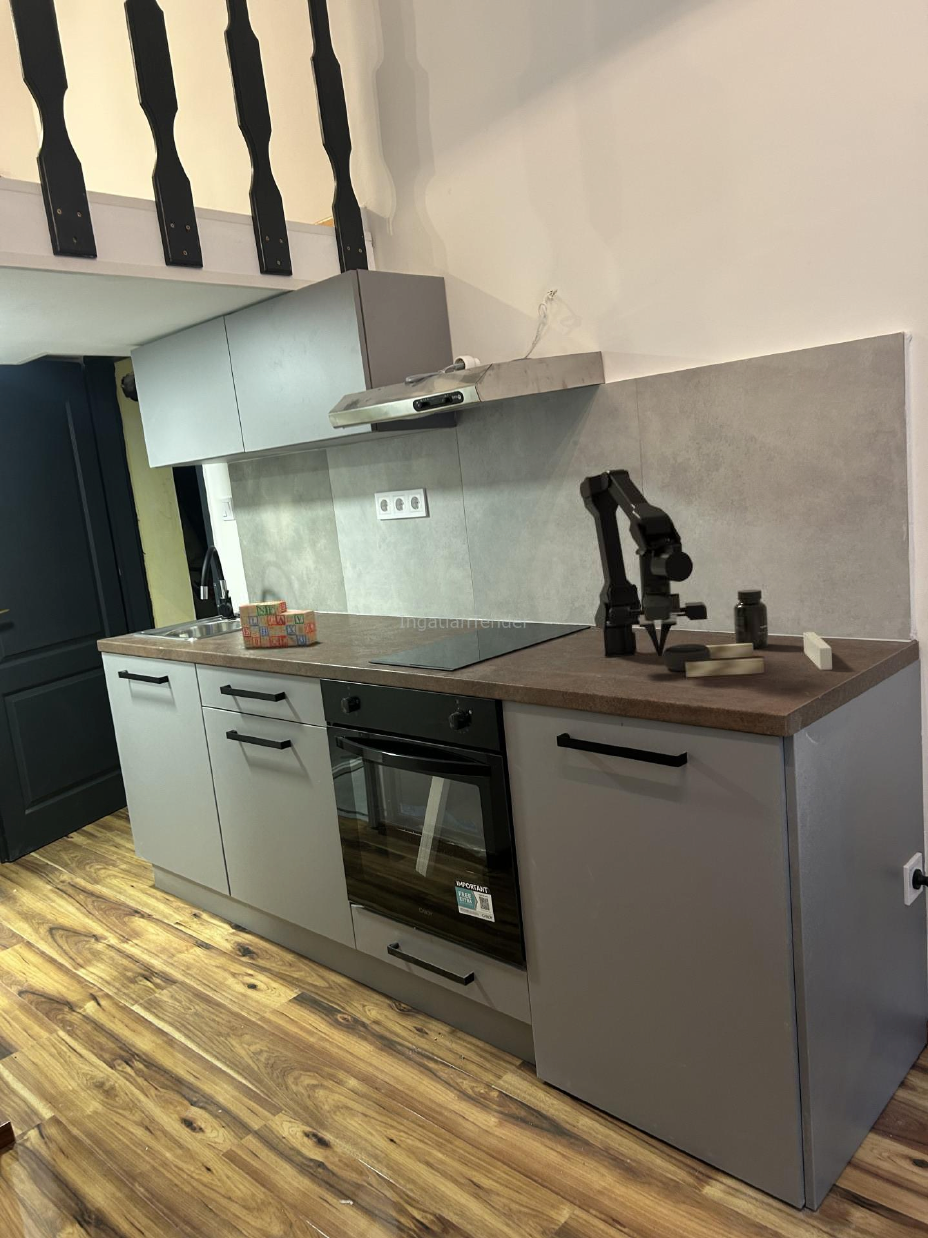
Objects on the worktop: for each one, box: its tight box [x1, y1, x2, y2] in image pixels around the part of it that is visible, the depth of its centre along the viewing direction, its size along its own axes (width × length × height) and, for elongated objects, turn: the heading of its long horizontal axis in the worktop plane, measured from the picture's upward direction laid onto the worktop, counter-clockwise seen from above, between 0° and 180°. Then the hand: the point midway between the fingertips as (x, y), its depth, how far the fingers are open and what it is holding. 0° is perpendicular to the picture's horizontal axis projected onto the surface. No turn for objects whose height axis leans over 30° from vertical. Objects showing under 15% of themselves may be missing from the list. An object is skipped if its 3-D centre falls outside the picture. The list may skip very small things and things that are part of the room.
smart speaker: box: [663, 643, 712, 672], centre depth 179 cm, size 9×9×4 cm
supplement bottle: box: [733, 589, 769, 650], centre depth 193 cm, size 7×7×12 cm
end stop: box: [802, 631, 833, 671], centre depth 174 cm, size 2×17×4 cm, turn 169°
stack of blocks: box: [238, 600, 318, 648], centre depth 261 cm, size 21×6×12 cm, turn 69°
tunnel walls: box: [685, 643, 765, 678], centre depth 178 cm, size 14×17×2 cm
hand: (659, 656), depth 180 cm, fingers closed
